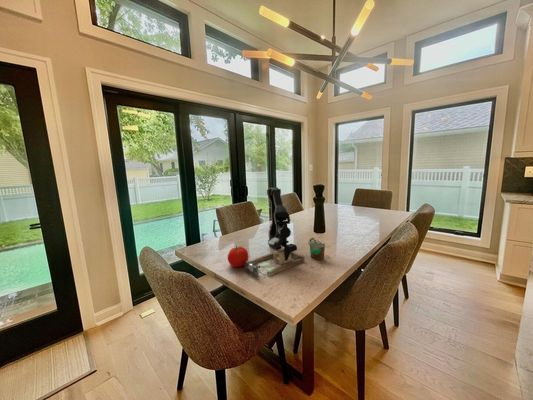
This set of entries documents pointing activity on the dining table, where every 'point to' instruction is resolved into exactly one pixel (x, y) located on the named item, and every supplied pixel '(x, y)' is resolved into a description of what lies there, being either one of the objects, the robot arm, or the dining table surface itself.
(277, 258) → the box
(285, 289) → the dining table surface
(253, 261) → the bay
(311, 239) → the food container
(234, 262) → the tomato
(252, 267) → the winch
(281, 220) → the robot arm
